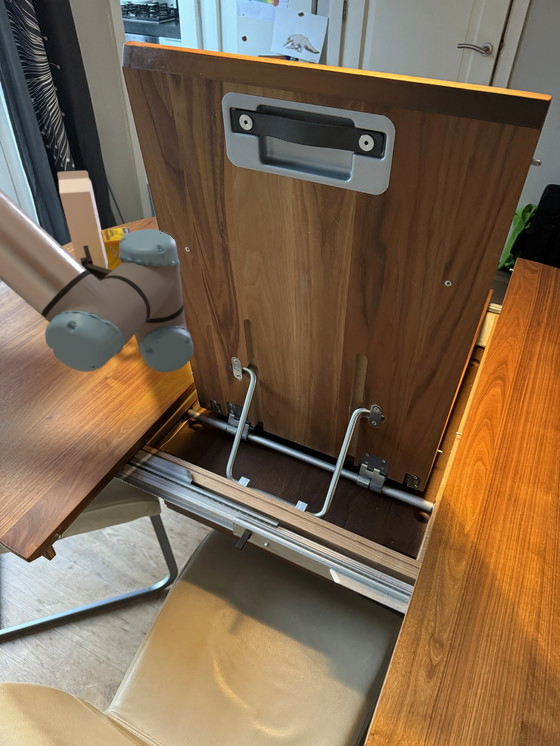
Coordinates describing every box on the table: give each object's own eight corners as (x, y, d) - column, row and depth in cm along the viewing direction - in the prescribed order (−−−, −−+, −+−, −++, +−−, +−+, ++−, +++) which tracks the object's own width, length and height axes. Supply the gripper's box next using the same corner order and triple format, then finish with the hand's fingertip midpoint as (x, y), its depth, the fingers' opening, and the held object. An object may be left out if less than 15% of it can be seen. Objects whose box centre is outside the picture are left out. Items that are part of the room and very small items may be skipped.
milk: (81, 263, 121) (57, 167, 107) (108, 261, 122) (88, 165, 108) (80, 276, 116) (54, 177, 102) (108, 273, 118) (86, 175, 104)
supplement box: (110, 276, 115) (100, 229, 108) (137, 272, 117) (129, 226, 110) (113, 289, 111) (103, 241, 104) (141, 284, 113) (133, 237, 106)
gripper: (72, 336, 83) (59, 275, 97) (221, 307, 91) (188, 254, 105) (61, 296, 78) (49, 237, 93) (219, 268, 86) (185, 219, 101)
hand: (123, 246), depth 99 cm, fingers open, 13 cm apart
